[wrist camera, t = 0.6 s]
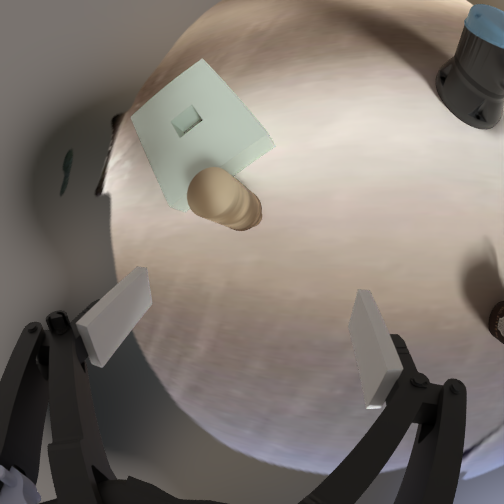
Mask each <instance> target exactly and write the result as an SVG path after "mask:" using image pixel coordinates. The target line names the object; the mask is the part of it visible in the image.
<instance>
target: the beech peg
mask: <svg viewBox="0 0 504 504" xmlns="http://www.w3.org/2000/svg"><path fill="white" fill-rule="evenodd" d="M187 202H188V205H189V207H190V209H191V210H192V211H193V212H194V213H195V214H196V215H198V216H200V217H203V218H205V219H208V220H211V221H213V222H216V223H219V224H221V225H224V226H227V227H229V228H231V229H234V230H237V231H245V230H248V229H250V228H252V227H254V226H257V225H258V224H259V223H260V221H261V219H262V207H261V203H260V200H259V199H258V197H257V196H256V195H255V194H254V193H252V192H251V191H250V190H248V189H247V188H246V187H245V186H244V185H242V184H241V183H240V182H239V181H238V180H237V179H235V178H234V177H233V176H232V175H230V174H229V173H228V172H227V171H225V170H224V169H222V168H219V167H209V168H206V169H204V170H202V171H200V172H199V173H198V174H196V175H195V177H194V178H193V179H192V181H191V182H190V184H189V187H188V191H187Z"/></svg>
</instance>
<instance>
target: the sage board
mask: <svg viewBox="0 0 504 504" xmlns="http://www.w3.org/2000/svg"><path fill="white" fill-rule="evenodd" d="M201 118H202V121H201V122H200V123H198V124H197V125H196V126H195V127H193V128H192V129H191V130H189V131H188V132H187V133H186V134H185V133H184V132H185V131H186V130H187V129H188V128H190V127H191V126H192V125H193V124H195V123H196V122H197V121H199V120H200V119H201ZM131 120H132V122H133V125H134V127H135V130H136V132H137V134H138V137H139V139H140V142H141V144H142V146H143V149H144V151H145V153H146V156H147V158H148V160H149V163H150V165H151V167H152V169H153V172H154V174H155V176H156V178H157V181H158V183H159V185H160V187H161V189H162V191H163V194H164V196H165V198H166V200H167V202H168V204H169V207H172V208H174V209H177V210H180V211H183V212H186V211H188V210H189V209H190V207H189V205H188V202H187V191H188V187H189V184H190V182H191V181H192V179H193V178H194V177H195V175H196V174H198V173H199V172H200V171H202V170H204V169H206V168H209V167H219V168H222V169H224V170H225V171H227V172H228V173H229V174H230V175H232V176H234V175H236V174H237V173H238V172H240V171H241V170H243V169H244V168H245V167H247V166H248V165H250V164H251V163H253V162H254V161H255V160H257V159H258V158H260V157H261V156H263V155H264V154H266V153H267V152H269V151H270V150H272V149H273V148H275V147H276V145H275V144H274V142H273V140H272V138H271V137H270V135H269V133H268V132H267V131H266V130H265V128H264V127H263V126H262V125H261V123H260V122H259V121H258V120H257V119H256V117H255V116H254V115H253V114H252V113H251V111H250V110H249V109H248V108H247V107H246V106H245V104H244V103H243V102H242V101H241V100H240V99H239V98H238V96H237V95H236V94H235V93H234V92H233V91H232V90H231V88H230V87H229V86H228V85H227V84H226V83H225V82H224V81H223V80H222V79H221V77H220V76H219V75H218V74H217V73H216V72H215V71H214V70H213V69H212V68H211V67H210V66H209V65H208V64H207V63H206V62H205V61H204V60H203V59H201V60H200V61H198V62H197V63H195V64H194V65H193V66H191V67H190V68H188V69H187V70H186V71H184V72H183V73H182V74H180V75H179V76H178V77H176V78H175V79H174V80H173V81H171V82H170V83H169V84H168V85H166V86H165V87H164V88H163V89H161V90H160V91H159V92H158V93H157V94H156V95H154V96H153V97H152V98H151V99H150V100H149V101H147V102H146V103H145V104H144V105H143V106H142V107H141V108H140V109H139V110H138V111H136V112H135V113H134V114H133V115H132V116H131Z"/></svg>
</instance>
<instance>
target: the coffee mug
mask: <svg viewBox="0 0 504 504" xmlns="http://www.w3.org/2000/svg"><path fill="white" fill-rule="evenodd" d="M489 330H490V332H491V334H492V335H493V336H494V337H495V338H496V339H498V340H499V341H500V342H502V343H503V344H504V301H501V302H499V303H498V304H497V305H496V306H495V307H494V309H493V310H492V312H491V315H490V319H489Z"/></svg>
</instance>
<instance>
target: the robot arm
mask: <svg viewBox="0 0 504 504" xmlns="http://www.w3.org/2000/svg"><path fill="white" fill-rule="evenodd" d="M464 22H465V25H464V29H463V32H462V35H461V38H460V41H459V44H458V47H457V50H456V53H455V55H454V56H453V57H452V58H451V59H450V60H449V61H448V62H446V63H445V64H444V65H443V66H442V67H441V68H440V70H439V72H438V75H437V78H436V87H437V90H438V93H439V95H440V97H441V99H442V100H443V102H444V103H445V105H446V106H447V107H448V108H449V110H450V111H451V112H452V113H453V114H454V115H456V116H457V117H458V118H459V119H461V120H462V121H463V122H465V123H467V124H468V125H470V126H472V127H475V128H478V129H490V128H492V127H493V126H495V124H496V123H497V122H498V121H499V119H500V118H501V115H502V110H503V106H504V12H503V11H501V10H499V9H497V8H495V7H492V6H489V5H484V4H477V5H474V6H472V7H471V9H470V11H469V14H468V16H467V18H466V19H465V21H464ZM151 305H152V298H151V292H150V285H149V278H148V270H147V268H145V267H138V266H137V267H136V268H135V269H134V270H133V271H132V272H130V273H129V274H128V275H127V276H126V277H125V278H124V279H123V280H121V281H120V282H119V283H118V284H117V285H116V286H115V287H114V288H113V289H111V290H110V291H109V292H108V293H107V294H106V295H105V296H104V297H103V298H102V299H101V300H100V299H98V300H96V301H94V302H92V303H91V304H90V305H89V306H88V307H87V308H86V309H85V310H84V311H83V312H82V313H80V314H79V315H78V316H77V317H76V318H75V319H74V320H73V321H72V322H71V323H70V321H69V319H68V316H67V313H66V312H64V311H55V312H52V313H51V314H49V315H48V316H47V317H46V322H47V325H48V327H49V330H43V327H42V325H41V323H39V322H32V323H29V324H28V325H27V326H25V328H24V329H23V331H22V333H21V335H20V338H19V339H18V341H17V344H16V346H15V348H14V350H13V352H12V354H11V357H10V359H9V361H8V364H7V366H6V369H5V371H4V374H3V376H2V378H1V381H0V504H37V503H39V502H40V501H41V496H40V494H39V493H38V492H37V489H36V483H37V478H38V472H39V464H40V453H41V444H42V436H43V429H44V423H45V417H46V411H47V406H48V402H49V404H50V405H49V406H50V419H51V430H52V438H53V442H52V444H48V457H49V462H50V468H51V474H52V479H53V483H54V487H55V491H56V495H57V498H56V499H53V500H50V501H46V502H43V503H39V504H227V503H220V502H216V501H211V500H183V499H178V498H175V497H174V496H172V495H170V494H168V493H166V492H165V491H162V490H161V489H159V488H158V487H156V486H154V485H152V484H150V483H147V482H144V481H141V480H139V479H136V478H133V477H131V476H128V478H127V480H120V479H117V478H116V476H115V475H114V473H113V471H112V470H111V468H110V465H109V462H108V460H107V456H106V453H105V450H104V447H103V443H102V439H101V435H100V432H99V427H98V423H97V419H96V415H95V410H94V405H93V400H92V395H91V389H90V383H89V377H88V370H87V364H86V362H85V359H86V358H87V357H88V356H89V359H90V361H91V363H92V364H93V365H96V366H99V367H101V368H103V367H104V365H105V364H106V363H107V361H108V360H109V359H110V357H111V356H112V354H113V353H114V352H115V351H116V349H117V348H118V347H119V345H120V344H121V343H122V342H123V340H124V339H125V338H126V336H127V335H128V334H129V333H130V331H131V330H132V329H133V327H134V326H135V325H136V324H137V322H138V321H139V320H140V319H141V317H142V316H143V315H144V314H145V312H146V311H147V310H148V309H149V307H150V306H151ZM348 328H349V332H350V336H351V340H352V344H353V348H354V352H355V357H356V361H357V366H358V370H359V375H360V380H361V384H362V389H363V394H364V400H365V405H366V409H375V408H381V407H382V405H383V404H384V402H385V401H386V405H387V406H386V407H385V409H384V410H383V412H382V413H381V415H380V416H379V417H378V419H377V420H376V421H375V423H374V424H373V425H372V427H371V428H370V429H369V430H368V432H367V433H366V434H365V436H364V437H363V438H362V439H361V440H360V442H359V443H358V444H357V445H356V446H355V448H354V449H353V450H352V451H351V452H350V453H349V455H348V456H347V457H346V458H345V459H344V460H343V461H342V462H341V463H340V465H339V466H338V467H337V468H336V469H335V470H334V471H333V472H332V473H331V474H330V475H329V476H328V477H327V478H326V479H325V480H324V481H323V482H322V483H321V484H320V485H319V486H318V487H317V488H316V489H315V490H314V491H312V492H311V493H310V494H309V495H308V496H306V497H305V498H304V499H303V500H302V501H300V502H299V503H298V504H354V503H355V502H356V501H357V500H358V499H359V498H360V496H361V495H362V494H363V493H364V491H365V490H366V489H367V488H368V487H369V485H370V484H371V483H372V481H373V480H374V479H375V478H376V476H377V475H378V474H379V472H380V471H381V470H382V468H383V467H384V466H385V464H386V463H387V461H388V460H389V458H390V457H391V455H392V454H393V452H394V451H395V449H396V448H397V446H398V445H399V443H400V442H401V440H402V438H403V437H404V435H405V433H406V432H407V430H408V428H409V426H410V425H411V423H418V424H419V425H418V429H417V433H416V437H415V441H414V445H413V449H412V452H411V456H410V459H409V463H408V466H407V469H406V472H405V475H404V478H403V481H402V484H401V486H400V489H399V492H398V494H397V497H396V499H395V502H394V504H453V500H454V497H455V492H456V488H457V484H458V479H459V474H460V468H461V462H462V455H463V447H464V438H465V426H466V401H467V391H466V387H465V385H464V384H463V383H462V382H461V381H460V380H457V379H448V380H447V381H446V382H445V383H444V385H437V384H432V383H430V382H429V379H428V378H427V377H426V376H425V375H424V374H422V373H419V372H418V371H417V369H416V367H415V364H414V362H413V360H412V357H411V355H410V354H409V350H408V349H407V346H406V344H405V342H404V340H403V339H402V338H401V337H400V336H399V335H398V334H389V332H388V329H387V327H386V325H385V322H384V320H383V318H382V316H381V313H380V311H379V309H378V307H377V305H376V302H375V300H374V298H373V296H372V294H371V292H370V290H360V289H358V292H357V296H356V300H355V303H354V307H353V311H352V315H351V318H350V322H349V325H348Z"/></svg>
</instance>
